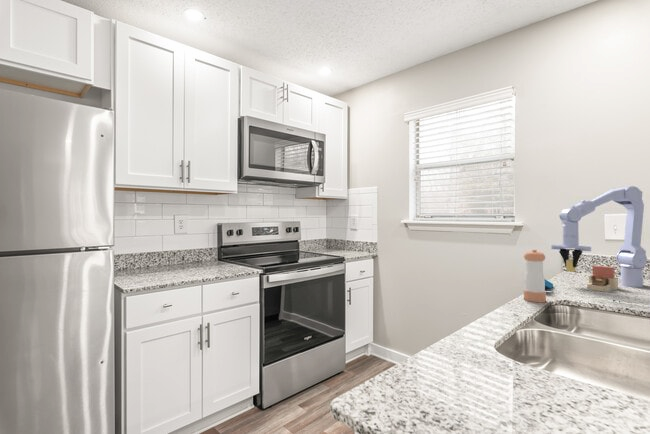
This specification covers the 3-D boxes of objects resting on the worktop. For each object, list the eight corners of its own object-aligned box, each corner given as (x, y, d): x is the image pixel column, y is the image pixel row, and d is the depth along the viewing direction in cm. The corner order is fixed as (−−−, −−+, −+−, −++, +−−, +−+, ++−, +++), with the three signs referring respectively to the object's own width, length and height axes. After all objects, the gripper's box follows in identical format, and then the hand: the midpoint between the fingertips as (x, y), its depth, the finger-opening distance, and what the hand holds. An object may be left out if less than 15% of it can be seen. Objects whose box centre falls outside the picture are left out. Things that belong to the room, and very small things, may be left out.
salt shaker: (540, 298, 139) (539, 248, 139) (550, 302, 131) (549, 250, 131) (520, 297, 139) (520, 248, 139) (529, 302, 132) (528, 250, 132)
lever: (534, 297, 160) (522, 292, 148) (535, 281, 161) (523, 275, 149) (552, 300, 155) (541, 295, 143) (553, 283, 156) (542, 277, 144)
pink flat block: (594, 276, 156) (594, 265, 156) (614, 279, 151) (614, 267, 151) (592, 277, 155) (592, 266, 155) (612, 279, 149) (612, 267, 149)
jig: (594, 286, 160) (594, 274, 159) (619, 289, 152) (619, 276, 152) (583, 290, 151) (583, 277, 151) (610, 294, 144) (609, 280, 144)
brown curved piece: (600, 285, 157) (600, 272, 157) (612, 287, 154) (612, 274, 154) (591, 289, 150) (591, 276, 150) (603, 290, 146) (603, 277, 146)
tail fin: (569, 270, 159) (568, 259, 159) (575, 271, 157) (575, 259, 157) (566, 271, 157) (566, 259, 157) (572, 271, 155) (572, 260, 155)
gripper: (548, 235, 160) (548, 265, 160) (587, 236, 149) (587, 269, 149) (554, 234, 164) (555, 264, 164) (592, 236, 153) (593, 267, 153)
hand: (570, 266), depth 157 cm, fingers closed on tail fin, 2 cm apart
